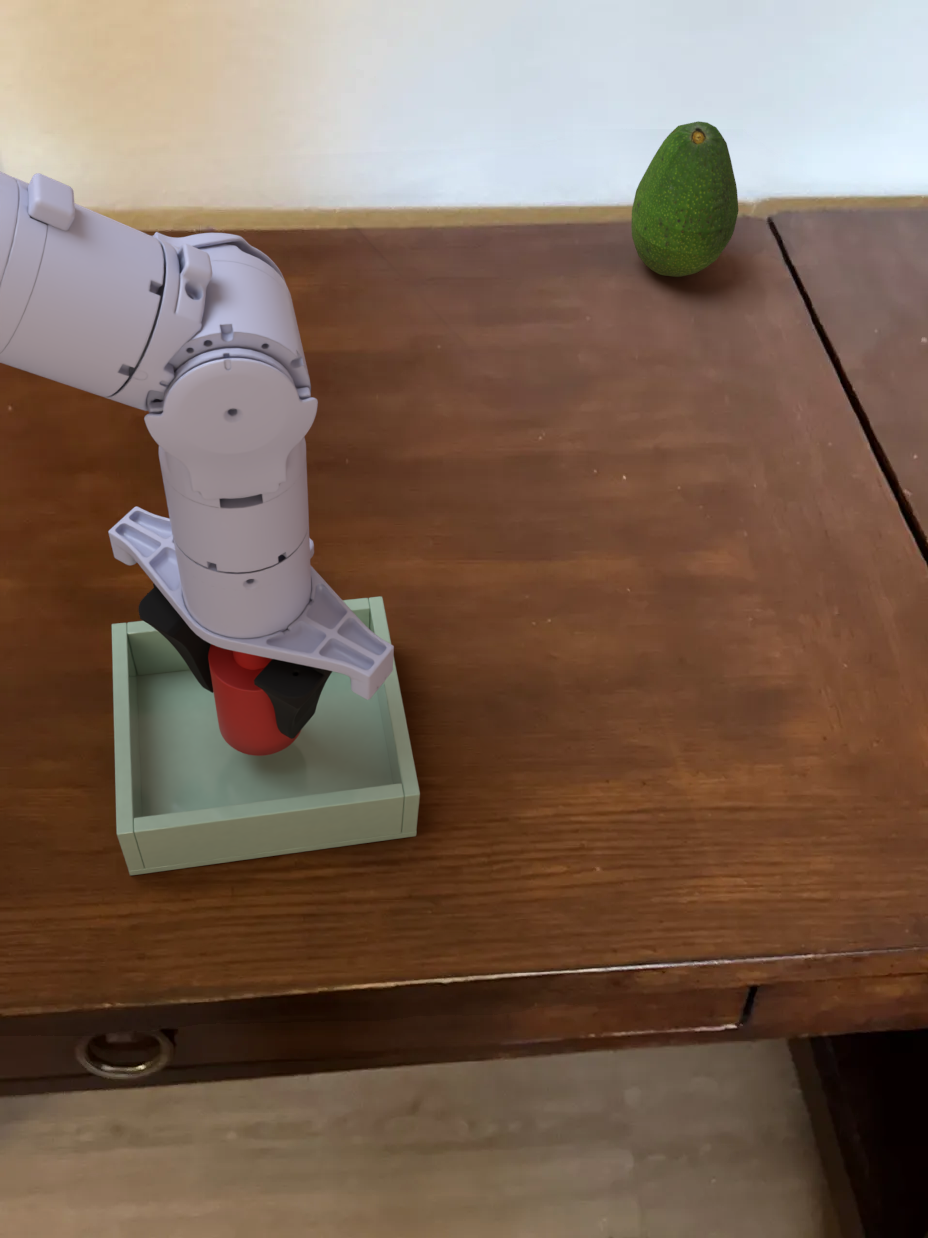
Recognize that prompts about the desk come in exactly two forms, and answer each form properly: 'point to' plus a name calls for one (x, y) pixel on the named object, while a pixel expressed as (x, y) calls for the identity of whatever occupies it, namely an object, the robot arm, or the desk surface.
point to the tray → (251, 765)
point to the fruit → (685, 202)
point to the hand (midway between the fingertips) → (259, 699)
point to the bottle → (244, 703)
